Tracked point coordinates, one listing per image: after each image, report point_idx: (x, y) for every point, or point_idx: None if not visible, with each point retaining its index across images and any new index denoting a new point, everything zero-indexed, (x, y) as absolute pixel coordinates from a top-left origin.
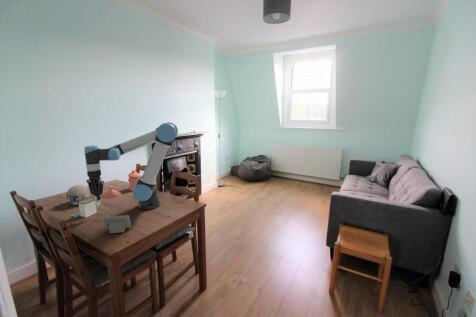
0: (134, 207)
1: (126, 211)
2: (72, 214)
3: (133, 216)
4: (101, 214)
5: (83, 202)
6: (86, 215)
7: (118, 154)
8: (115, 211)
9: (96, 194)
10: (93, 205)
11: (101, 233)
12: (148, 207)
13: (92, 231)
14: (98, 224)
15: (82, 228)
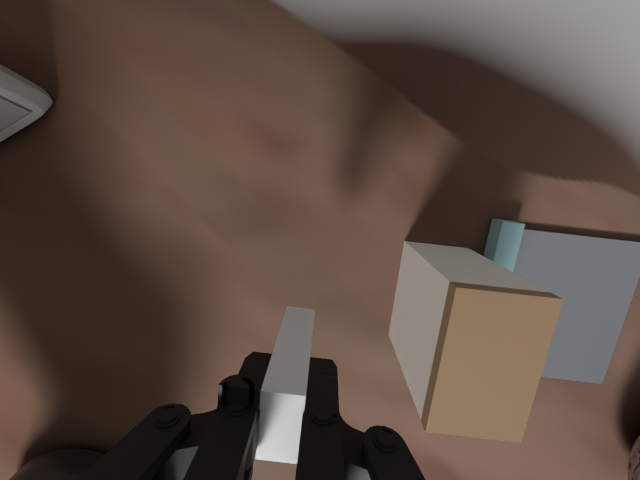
0: None
1: (182, 402)
2: (565, 257)
3: (61, 341)
4: (329, 319)
5: (492, 312)
6: (407, 251)
7: None
8: None
9: (232, 423)
10: (412, 358)
11: (43, 34)
12: (21, 470)
13: (141, 44)
14: (201, 163)
15: (266, 68)
